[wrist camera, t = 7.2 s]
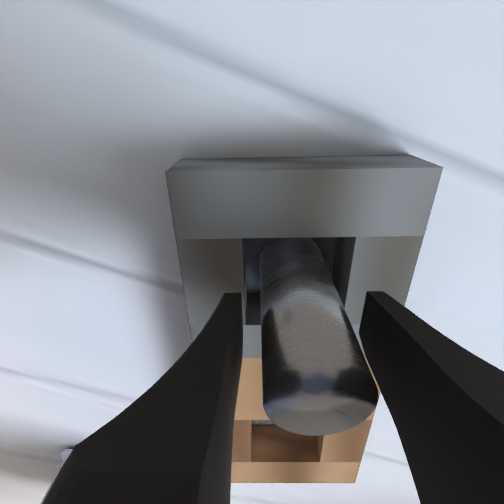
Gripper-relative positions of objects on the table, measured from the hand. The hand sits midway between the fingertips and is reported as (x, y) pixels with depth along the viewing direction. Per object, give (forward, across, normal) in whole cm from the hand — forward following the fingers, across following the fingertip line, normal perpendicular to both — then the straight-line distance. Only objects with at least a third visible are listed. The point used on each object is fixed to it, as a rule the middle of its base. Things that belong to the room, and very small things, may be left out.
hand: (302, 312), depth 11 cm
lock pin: (+4, 0, 0) cm, 4 cm away
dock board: (+4, 0, +6) cm, 7 cm away
